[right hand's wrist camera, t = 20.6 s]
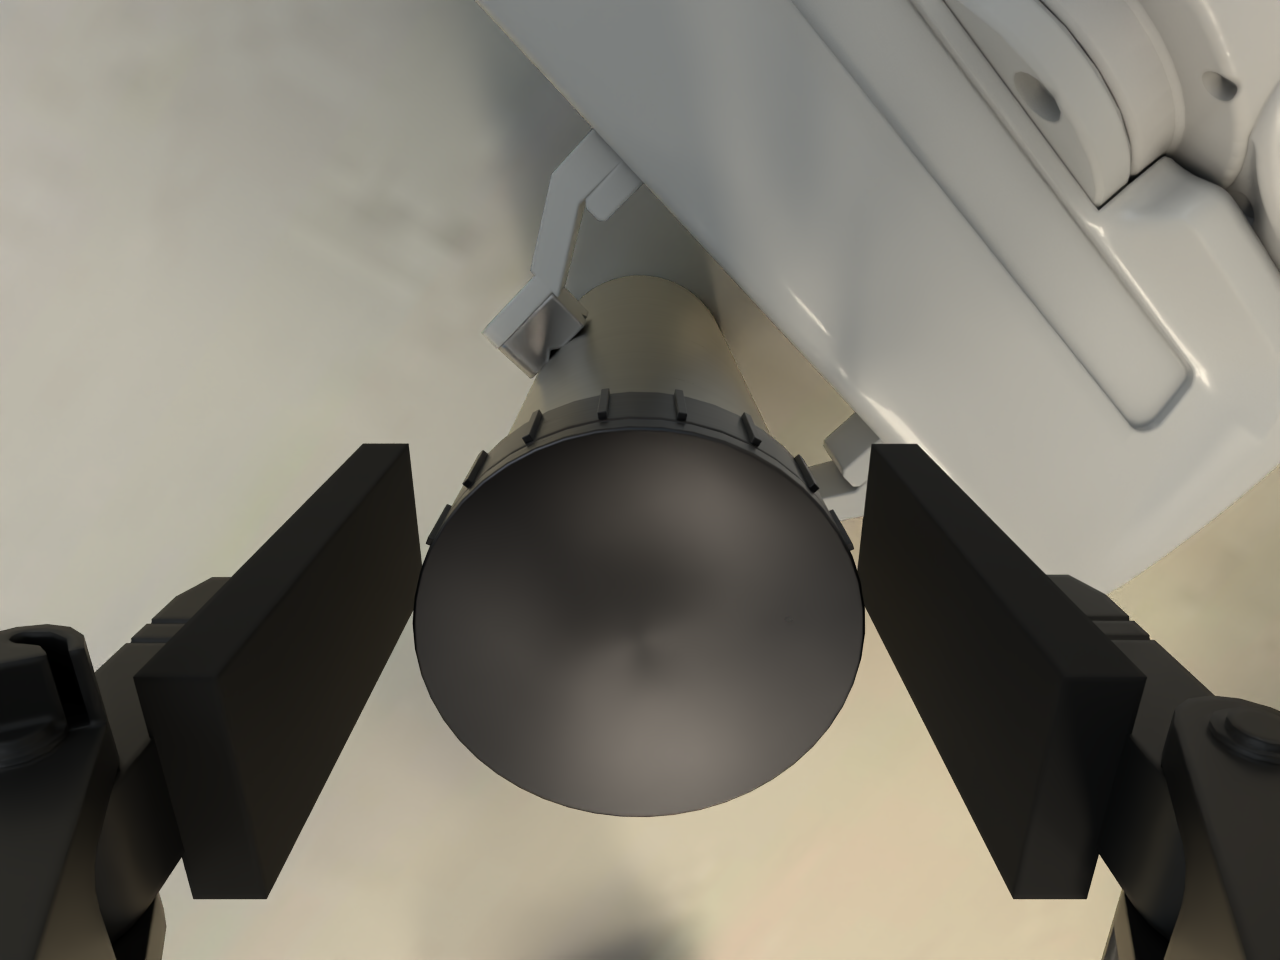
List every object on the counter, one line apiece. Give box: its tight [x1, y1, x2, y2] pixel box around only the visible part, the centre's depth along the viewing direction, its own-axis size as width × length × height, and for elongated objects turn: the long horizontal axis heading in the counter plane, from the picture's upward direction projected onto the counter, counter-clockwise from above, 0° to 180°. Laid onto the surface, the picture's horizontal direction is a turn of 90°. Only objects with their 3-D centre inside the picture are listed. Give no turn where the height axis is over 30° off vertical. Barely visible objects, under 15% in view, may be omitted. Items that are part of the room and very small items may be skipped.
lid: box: [413, 388, 865, 817], centre depth 11 cm, size 6×6×2 cm
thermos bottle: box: [508, 275, 771, 436], centre depth 18 cm, size 5×5×15 cm
